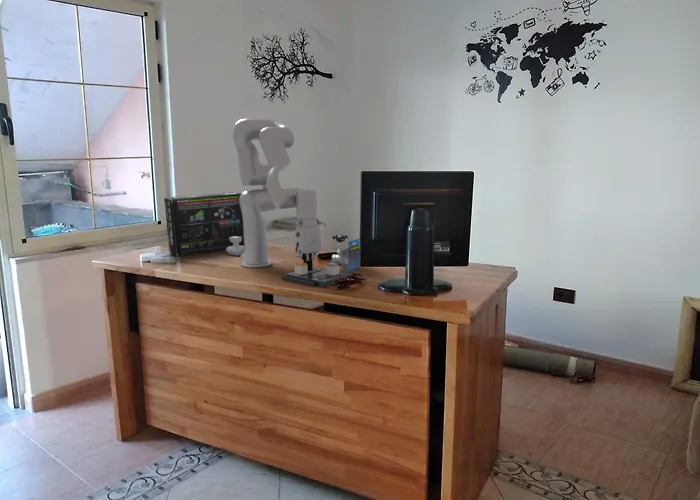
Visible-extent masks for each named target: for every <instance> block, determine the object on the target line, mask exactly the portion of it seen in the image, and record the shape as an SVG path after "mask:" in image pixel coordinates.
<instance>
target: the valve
mask: <svg viewBox="0 0 700 500" xmlns="http://www.w3.org/2000/svg"><path fill="white" fill-rule="evenodd" d="M348 238H349V236H348V234H344V235H343V234H340V235H339V234H335V235H332V239H333V240H335V241H336V242H337V243H338V244H337V248H338V249H337V250H336V254H332V256H331V262H332V263H337V264H338V265H341V251H342V250H343V244H342V243H343V242H345V240H346V239H347V240H348Z"/></svg>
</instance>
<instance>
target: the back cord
mask: <svg viewBox="0 0 700 500" xmlns="http://www.w3.org/2000/svg"><path fill="white" fill-rule="evenodd" d="M318 268H319V269H324V270H326V268H324V267H318ZM339 273H344V274H349V275H354V276H355V274H353V273H350V272H344V271H339Z"/></svg>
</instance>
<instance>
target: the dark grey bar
mask: <svg viewBox="0 0 700 500" xmlns="http://www.w3.org/2000/svg"><path fill="white" fill-rule="evenodd" d="M281 279H282V281H285V280H286V281H285V282H289V283H290V282H291V283H295V284H299V285H304V286H308V287H312V288H313V287H315V282H310V281H306V280H301V279H296V278H292V277H287V276H285V275H282V276H281Z"/></svg>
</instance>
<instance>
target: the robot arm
mask: <svg viewBox="0 0 700 500" xmlns="http://www.w3.org/2000/svg"><path fill="white" fill-rule="evenodd" d="M232 139H233V144H234V147H235V150H236V154H237V161H238V170H239V178H240V183H242V185H244V186H246V187H257V186H259V187H260V186H261V187H262V188H256V189H254V188H253V189H247V190H244V191H243V192H241V195H240V198H239V204H240V208H241V212H242V219H243V234H244V253H243V254H241V255H240V258H241V259H243V261H241V264H240V265H241V267H244V268H265V267H268V266H271V265H272V260H270V259H268V258H269V257H268V240H267V239H268V236H267V223H266V219H265V217H264V216H263V214H262V212H272V211H275V210H277V209H278V210H287V209H294V208H295V209H296V221H295V225H296V227H295V232H294V233H295V234H294V251H295V253H296V255H295V256H296V258H301V260H302V261H303V262H304V263H307V265H308V271H312V270H313V268H314V267H313V265H314V264H313V261H314V258H315V256H316V255H318V254H319V252H320V251H321V250H322V239H321V238H322V237H321V236H322V235H321V231H320V226H319V225H318V217H317V215H318V212H317V192H316V190H314V189H305V188H302V187H290V188H289V187H288V188H282V187H281V184H280V181H279V173H280V172H282V171H284V170H286V168H288V167H289V166H290V164H291V158H290V155H289V153H288V151H287V149H290V148H292V147H293V146H294V143H295V135H294V133H293V131H292V130H291V129H290V128H289V127H288V126H286V125H285V124H282V123H280V122H278V121H276V120H274V119H271V118H243V119H239V120H238V121H237V122H236V123H235V124H234V126H233V129H232ZM252 141H259V144H260V146H261V149H262V152H263V154H264V157H265V160H266V161H267V162H260V155H259V150H258V149H257V147H256V145H255V144H254V143H253V142H252Z"/></svg>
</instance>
